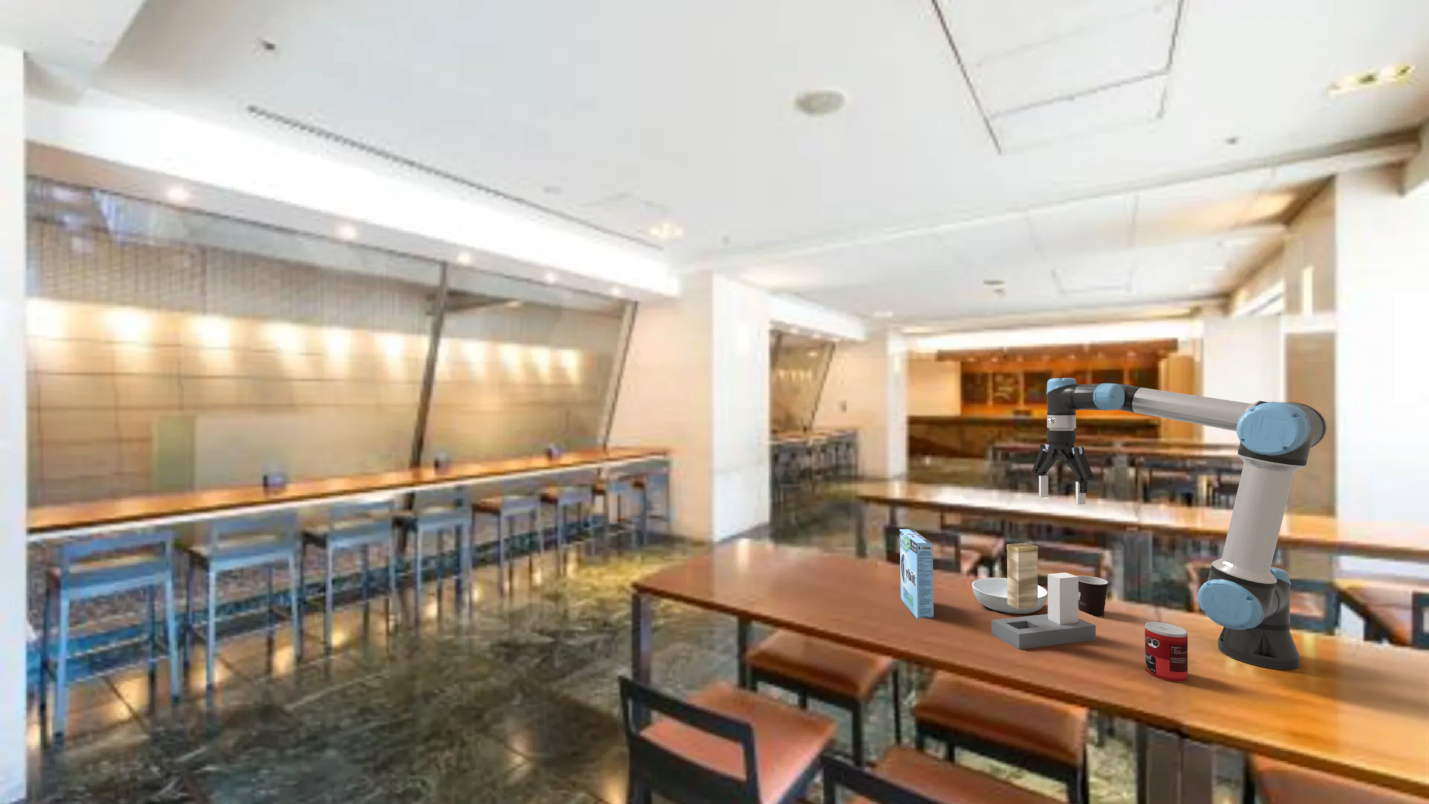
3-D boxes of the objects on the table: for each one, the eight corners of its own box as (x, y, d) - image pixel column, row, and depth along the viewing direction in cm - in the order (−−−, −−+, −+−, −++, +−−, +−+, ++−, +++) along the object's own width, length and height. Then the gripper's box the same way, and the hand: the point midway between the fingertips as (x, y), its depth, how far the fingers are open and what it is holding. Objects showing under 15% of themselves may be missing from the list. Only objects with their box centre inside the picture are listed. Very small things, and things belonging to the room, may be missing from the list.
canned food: (1146, 664, 143) (1145, 619, 143) (1188, 673, 137) (1187, 627, 138) (1143, 675, 137) (1143, 628, 137) (1187, 686, 132) (1187, 637, 132)
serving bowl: (976, 594, 195) (976, 573, 195) (1048, 605, 184) (1048, 583, 184) (967, 613, 177) (967, 591, 177) (1046, 627, 166) (1046, 603, 166)
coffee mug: (1107, 620, 171) (1107, 586, 171) (1073, 613, 176) (1072, 580, 176) (1109, 609, 181) (1109, 576, 181) (1077, 603, 186) (1077, 571, 186)
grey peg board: (1095, 644, 154) (1095, 625, 154) (1019, 653, 149) (1019, 634, 149) (1064, 629, 164) (1064, 612, 164) (991, 638, 158) (991, 620, 158)
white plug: (1078, 636, 157) (1078, 576, 157) (1059, 638, 155) (1059, 578, 155) (1066, 630, 160) (1065, 572, 161) (1047, 632, 159) (1047, 574, 159)
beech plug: (1038, 607, 153) (1038, 546, 153) (1018, 609, 152) (1018, 548, 152) (1026, 602, 158) (1026, 542, 158) (1006, 604, 156) (1006, 544, 156)
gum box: (933, 621, 171) (933, 543, 171) (916, 620, 171) (916, 543, 171) (915, 598, 190) (914, 528, 190) (899, 598, 191) (899, 528, 191)
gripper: (1019, 428, 186) (1019, 494, 186) (1086, 431, 162) (1087, 508, 162) (1039, 427, 188) (1039, 493, 188) (1108, 431, 164) (1108, 506, 163)
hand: (1061, 500), depth 175 cm, fingers open, 13 cm apart
